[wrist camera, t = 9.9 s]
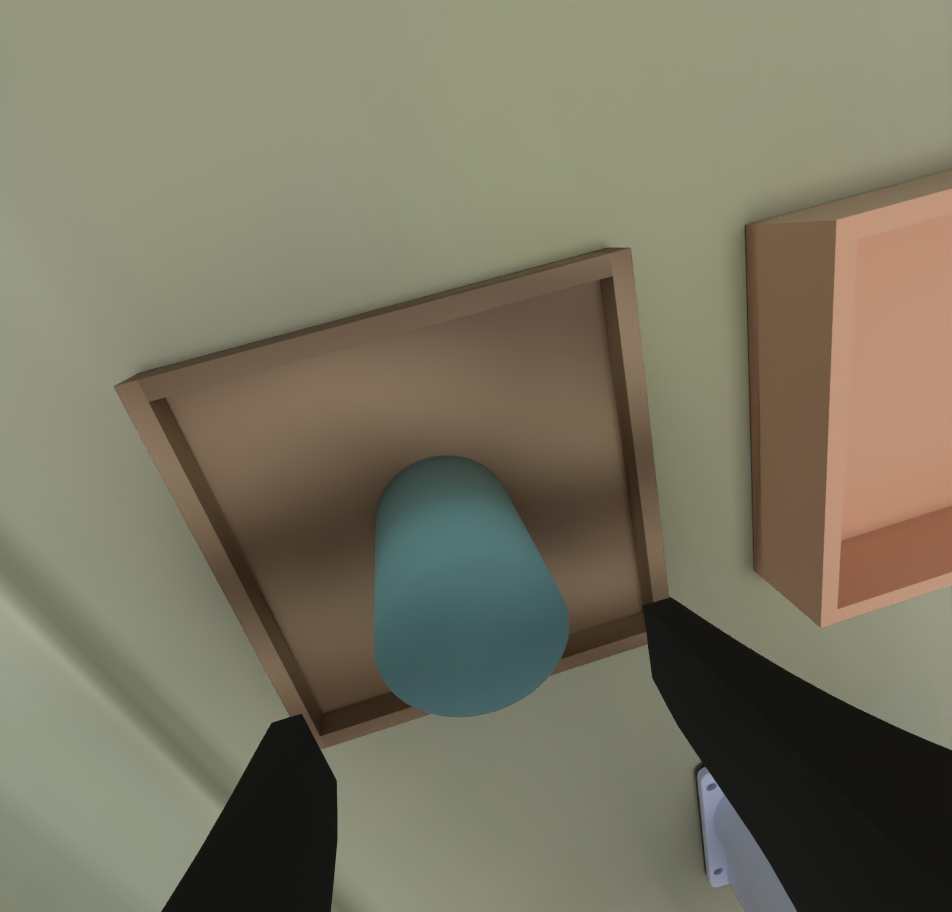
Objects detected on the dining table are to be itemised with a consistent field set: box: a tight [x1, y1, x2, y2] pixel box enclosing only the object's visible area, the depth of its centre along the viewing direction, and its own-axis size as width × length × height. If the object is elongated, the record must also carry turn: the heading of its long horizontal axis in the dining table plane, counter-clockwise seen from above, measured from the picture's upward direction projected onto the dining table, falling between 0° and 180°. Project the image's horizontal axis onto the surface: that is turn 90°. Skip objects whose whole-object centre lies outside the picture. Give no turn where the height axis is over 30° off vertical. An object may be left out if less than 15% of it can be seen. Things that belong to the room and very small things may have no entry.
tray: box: [114, 248, 669, 749], centre depth 17 cm, size 14×14×2 cm
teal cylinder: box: [374, 455, 569, 717], centre depth 15 cm, size 4×4×6 cm
